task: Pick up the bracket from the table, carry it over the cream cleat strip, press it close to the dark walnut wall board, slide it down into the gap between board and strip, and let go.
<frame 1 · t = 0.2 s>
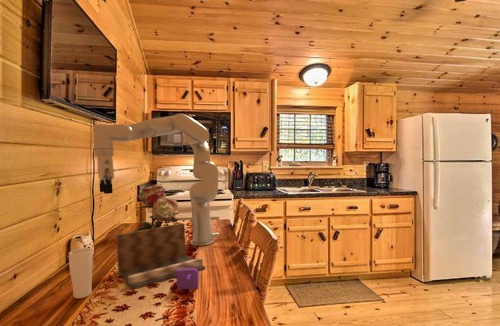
hand: (106, 192, 128), 31 cm above the table, tool pointing down, fingers open, 9 cm apart
white cup: (82, 296, 98), on the table
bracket: (188, 283, 105), on the table
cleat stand: (161, 270, 118), on the table
rose bouquet: (160, 232, 181), on the table
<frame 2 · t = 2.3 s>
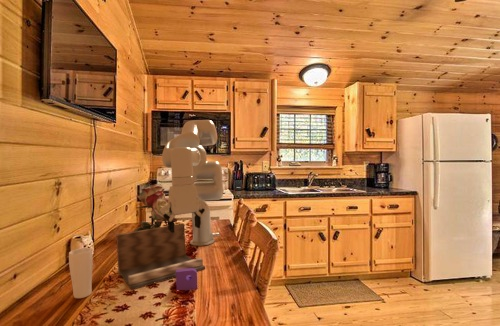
hand: (185, 229, 105), 19 cm above the table, tool pointing down, fingers open, 9 cm apart
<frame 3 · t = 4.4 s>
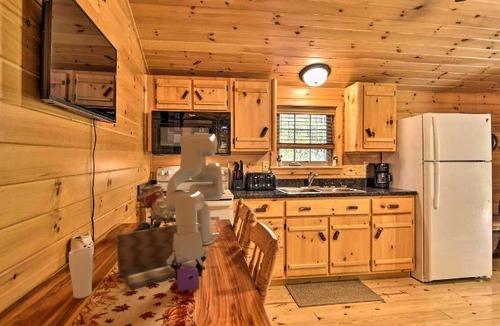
hand: (189, 278, 105), 1 cm above the table, tool pointing down, fingers closed on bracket, 6 cm apart
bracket: (187, 283, 105), on the table, touching gripper
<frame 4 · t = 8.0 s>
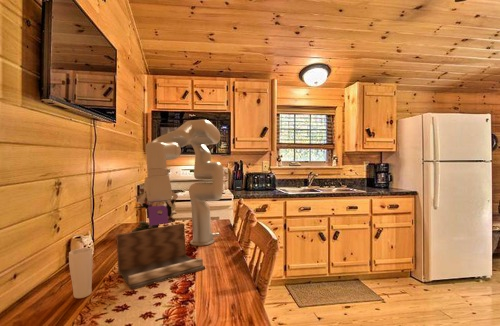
hand: (159, 217, 118), 21 cm above the table, tool pointing down, fingers closed on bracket, 6 cm apart
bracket: (158, 221, 117), point 20 cm above the table, touching gripper
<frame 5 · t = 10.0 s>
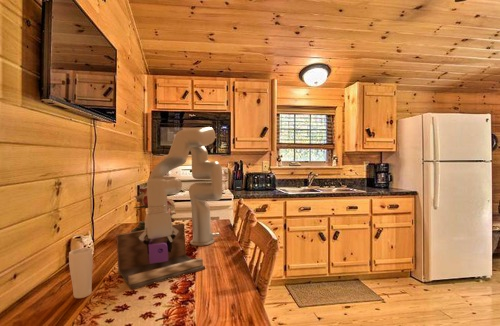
hand: (160, 253, 119), 7 cm above the table, tool pointing down, fingers closed on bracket, 6 cm apart
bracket: (158, 257, 118), point 5 cm above the table, touching gripper
when the fingers open (4 cm above the table, at t = 11.6 s): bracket drops 1 cm, resting on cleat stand.
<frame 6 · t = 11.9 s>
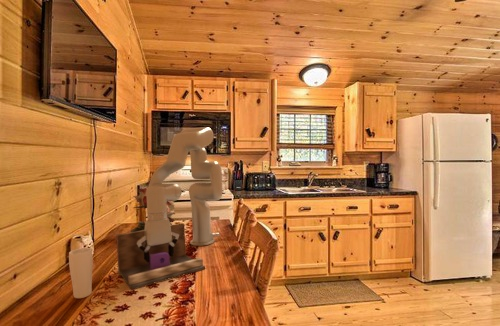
hand: (159, 258, 119), 4 cm above the table, tool pointing down, fingers open, 9 cm apart
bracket: (159, 267, 119), point 1 cm above the table, touching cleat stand
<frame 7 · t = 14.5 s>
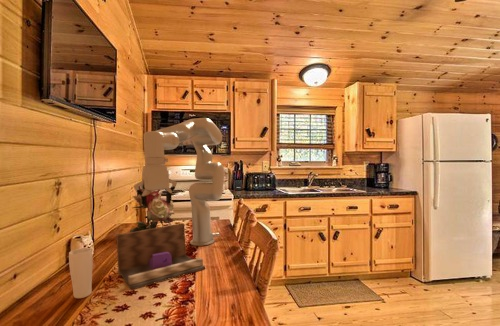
hand: (157, 204, 119), 26 cm above the table, tool pointing down, fingers open, 9 cm apart
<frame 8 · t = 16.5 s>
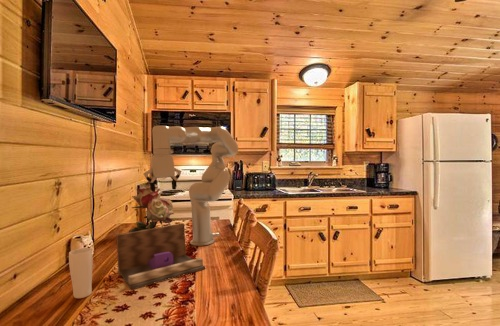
hand: (163, 190, 135), 30 cm above the table, tool pointing down, fingers open, 9 cm apart
at the end: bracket inside the target area on the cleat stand (0.2 cm from its centre), point 0.8 cm above the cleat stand's base; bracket tilted 0°; the gripper is holding nothing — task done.
